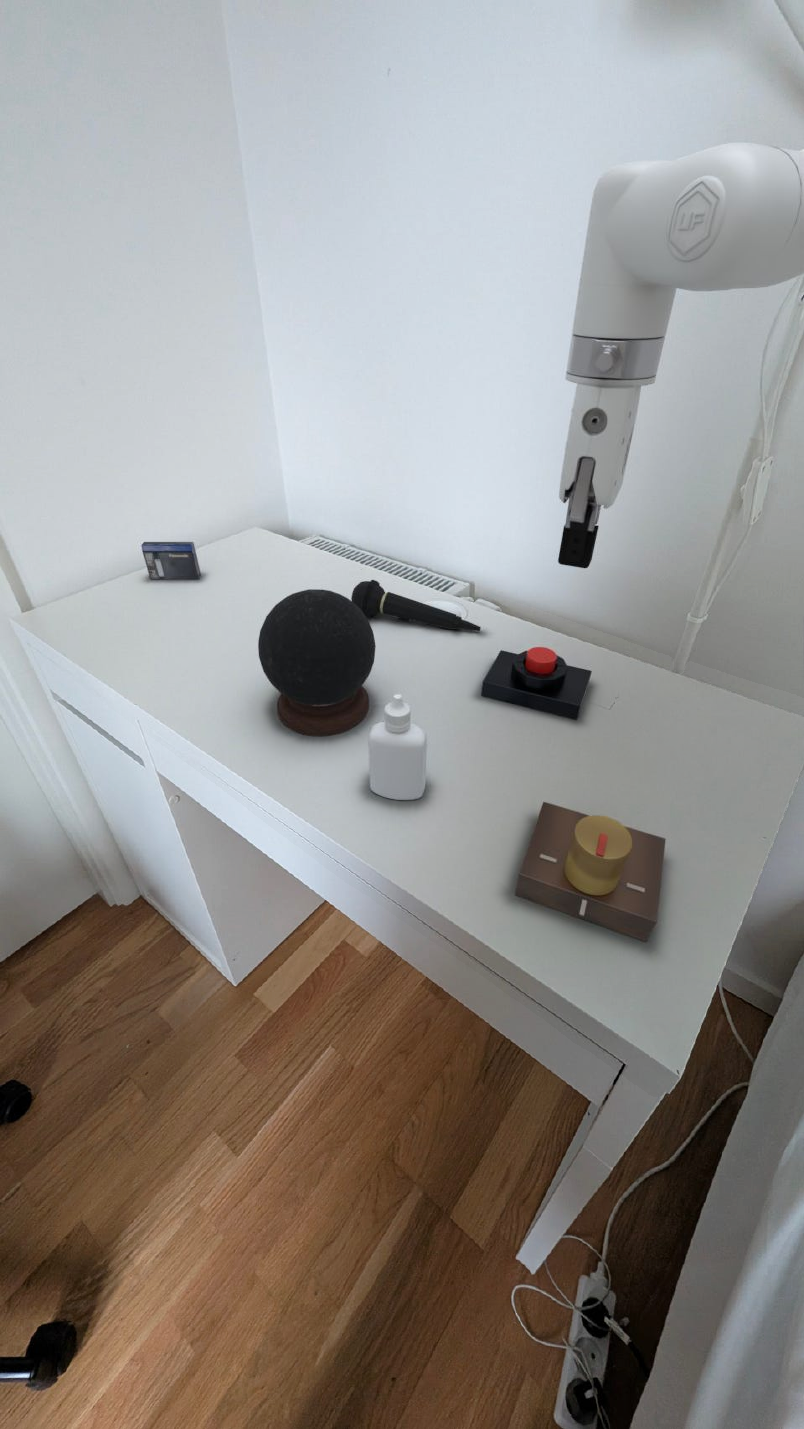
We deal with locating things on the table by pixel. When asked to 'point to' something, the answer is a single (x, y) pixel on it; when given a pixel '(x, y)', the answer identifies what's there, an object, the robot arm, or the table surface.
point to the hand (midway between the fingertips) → (574, 563)
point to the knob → (597, 854)
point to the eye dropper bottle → (397, 754)
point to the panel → (617, 910)
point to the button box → (537, 685)
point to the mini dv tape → (171, 560)
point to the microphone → (403, 607)
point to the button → (541, 660)
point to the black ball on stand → (318, 661)
